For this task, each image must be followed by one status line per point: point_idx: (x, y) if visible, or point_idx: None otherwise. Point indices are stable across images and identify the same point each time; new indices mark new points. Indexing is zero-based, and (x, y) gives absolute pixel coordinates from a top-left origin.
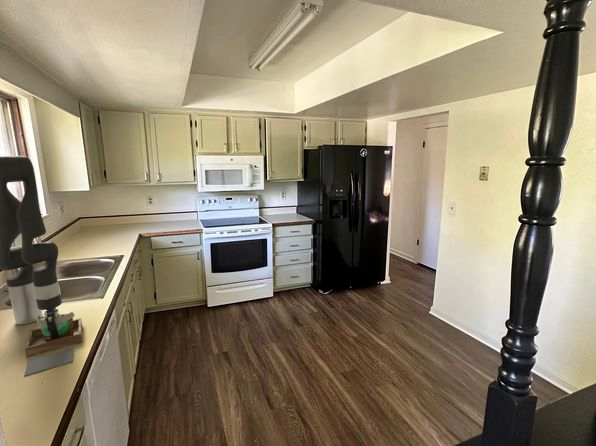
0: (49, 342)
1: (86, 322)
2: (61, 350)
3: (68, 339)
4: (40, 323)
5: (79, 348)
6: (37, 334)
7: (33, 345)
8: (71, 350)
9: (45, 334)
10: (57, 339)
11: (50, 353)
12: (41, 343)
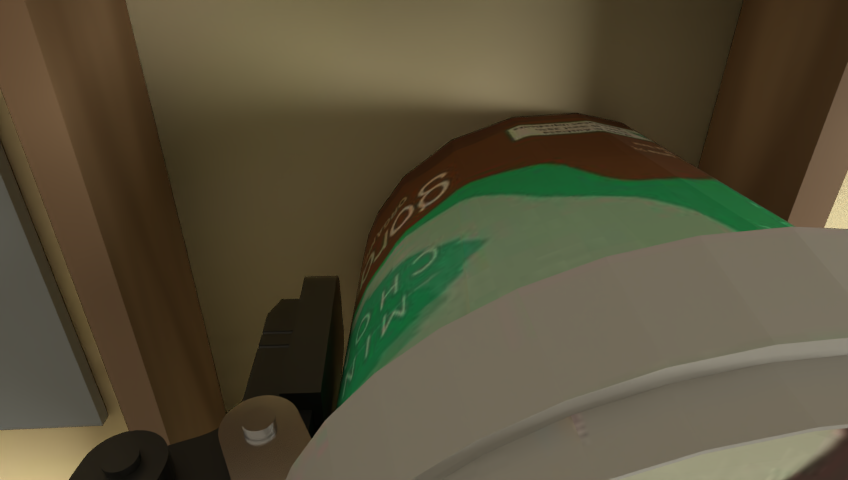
0: (83, 298)
1: None
2: (60, 333)
3: None
4: (429, 412)
5: (76, 457)
6: (783, 9)
7: (41, 57)
8: (22, 416)
9: (431, 228)
10: (140, 387)
11: (19, 228)
12: (75, 193)
